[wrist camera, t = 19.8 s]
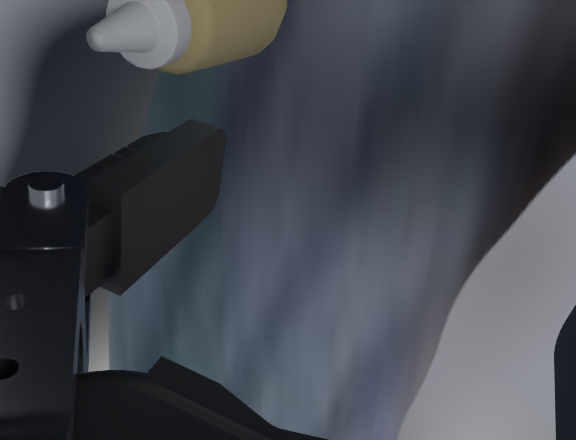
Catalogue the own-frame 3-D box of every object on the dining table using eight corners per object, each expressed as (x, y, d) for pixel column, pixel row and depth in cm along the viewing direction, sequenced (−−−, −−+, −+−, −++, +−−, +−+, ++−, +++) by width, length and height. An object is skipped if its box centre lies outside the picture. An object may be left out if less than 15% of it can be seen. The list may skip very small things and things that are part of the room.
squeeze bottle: (315, -47, 38) (177, -21, 24) (288, 63, 43) (157, 142, 28) (215, -81, 40) (26, -76, 25) (199, 29, 44) (31, 87, 30)
